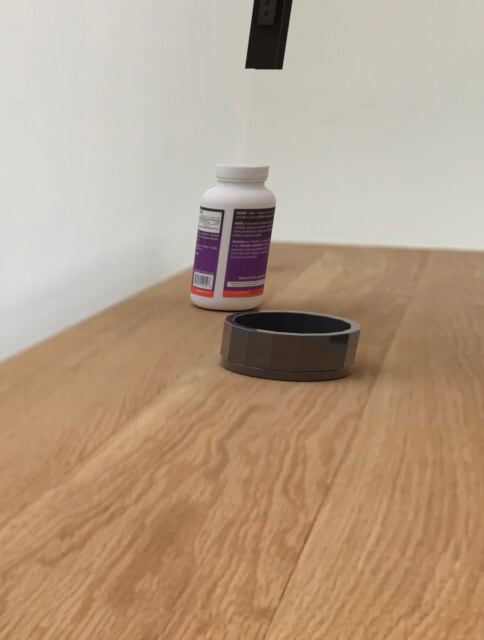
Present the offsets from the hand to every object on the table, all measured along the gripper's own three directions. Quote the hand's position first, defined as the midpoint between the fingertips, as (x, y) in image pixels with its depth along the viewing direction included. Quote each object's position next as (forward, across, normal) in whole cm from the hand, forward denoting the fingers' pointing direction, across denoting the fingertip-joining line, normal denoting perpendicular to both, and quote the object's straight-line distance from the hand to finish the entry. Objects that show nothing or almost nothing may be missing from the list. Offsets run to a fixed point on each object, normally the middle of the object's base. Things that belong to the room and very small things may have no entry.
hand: (264, 69), depth 108 cm
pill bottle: (+23, -7, -1) cm, 24 cm away
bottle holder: (+23, +22, +7) cm, 33 cm away
